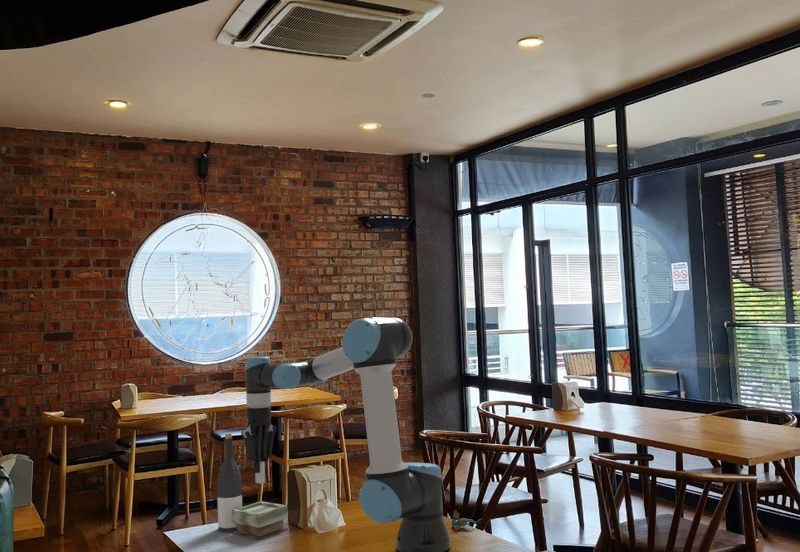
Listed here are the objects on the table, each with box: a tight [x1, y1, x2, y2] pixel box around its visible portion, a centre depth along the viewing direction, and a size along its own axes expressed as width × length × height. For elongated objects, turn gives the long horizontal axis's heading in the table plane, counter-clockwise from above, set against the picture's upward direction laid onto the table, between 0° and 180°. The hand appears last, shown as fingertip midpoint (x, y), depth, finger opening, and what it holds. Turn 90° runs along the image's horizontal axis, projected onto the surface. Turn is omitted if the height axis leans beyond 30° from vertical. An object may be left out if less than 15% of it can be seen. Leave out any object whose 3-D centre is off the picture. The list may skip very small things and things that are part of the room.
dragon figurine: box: [450, 509, 483, 532], centre depth 224 cm, size 6×7×8 cm
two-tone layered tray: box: [231, 501, 289, 541], centre depth 228 cm, size 12×12×7 cm
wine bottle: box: [216, 432, 243, 533], centre depth 233 cm, size 8×8×30 cm
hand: (260, 482), depth 229 cm, fingers closed
